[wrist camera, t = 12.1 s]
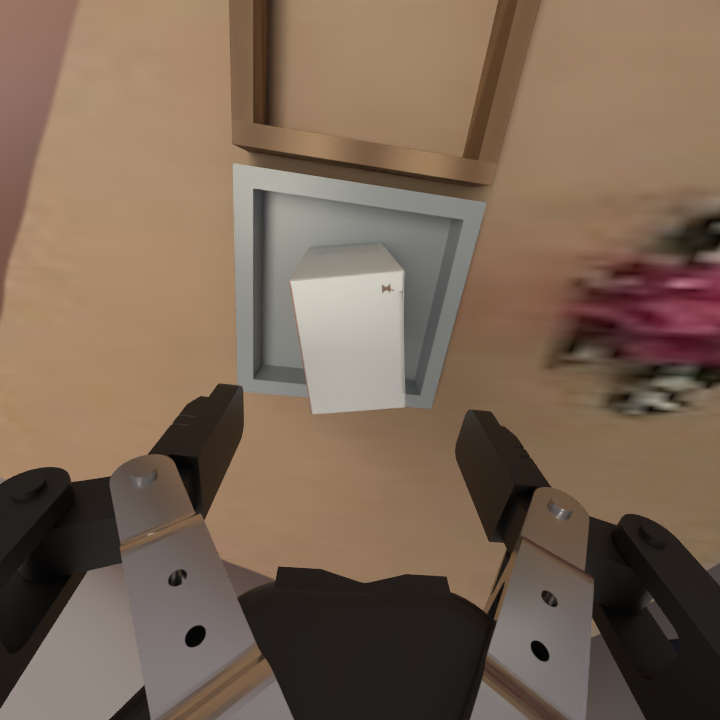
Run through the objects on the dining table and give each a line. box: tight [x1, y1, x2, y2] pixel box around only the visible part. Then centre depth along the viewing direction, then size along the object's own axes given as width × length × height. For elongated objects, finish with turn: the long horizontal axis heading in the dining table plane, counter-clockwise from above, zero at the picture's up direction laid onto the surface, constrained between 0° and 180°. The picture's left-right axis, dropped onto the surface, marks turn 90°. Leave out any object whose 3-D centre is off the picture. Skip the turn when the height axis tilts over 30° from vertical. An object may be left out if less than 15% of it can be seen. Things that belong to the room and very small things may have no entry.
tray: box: [233, 163, 487, 409], centre depth 26 cm, size 16×16×4 cm
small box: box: [289, 242, 406, 414], centre depth 22 cm, size 8×6×10 cm
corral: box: [229, 0, 541, 187], centre depth 19 cm, size 16×16×4 cm
